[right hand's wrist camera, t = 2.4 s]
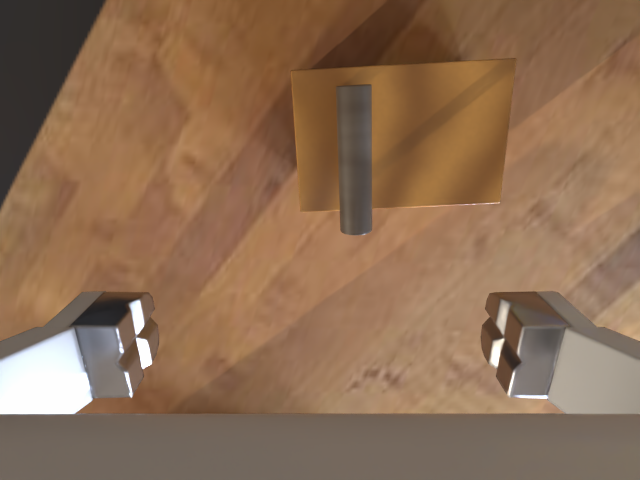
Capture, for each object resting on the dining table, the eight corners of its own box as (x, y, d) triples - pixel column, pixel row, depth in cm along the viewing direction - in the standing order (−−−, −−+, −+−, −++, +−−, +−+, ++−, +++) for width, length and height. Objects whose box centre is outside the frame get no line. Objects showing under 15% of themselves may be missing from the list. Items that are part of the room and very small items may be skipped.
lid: (300, 209, 30) (293, 255, 22) (291, 70, 26) (278, 67, 19) (495, 200, 29) (557, 243, 22) (511, 58, 26) (591, 50, 18)
